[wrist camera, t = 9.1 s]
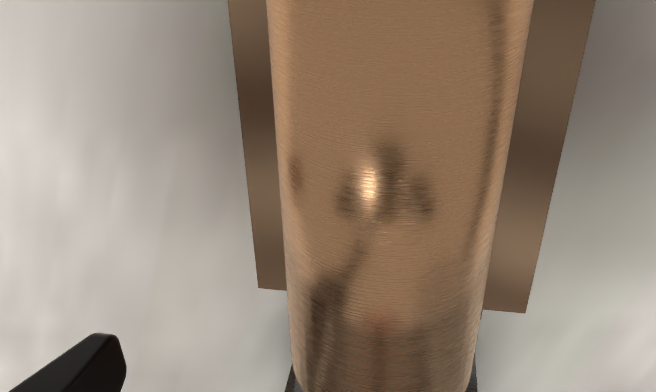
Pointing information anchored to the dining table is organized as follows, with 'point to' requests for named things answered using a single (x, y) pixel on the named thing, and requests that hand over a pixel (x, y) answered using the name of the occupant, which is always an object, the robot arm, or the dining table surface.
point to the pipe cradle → (522, 162)
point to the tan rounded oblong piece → (391, 181)
